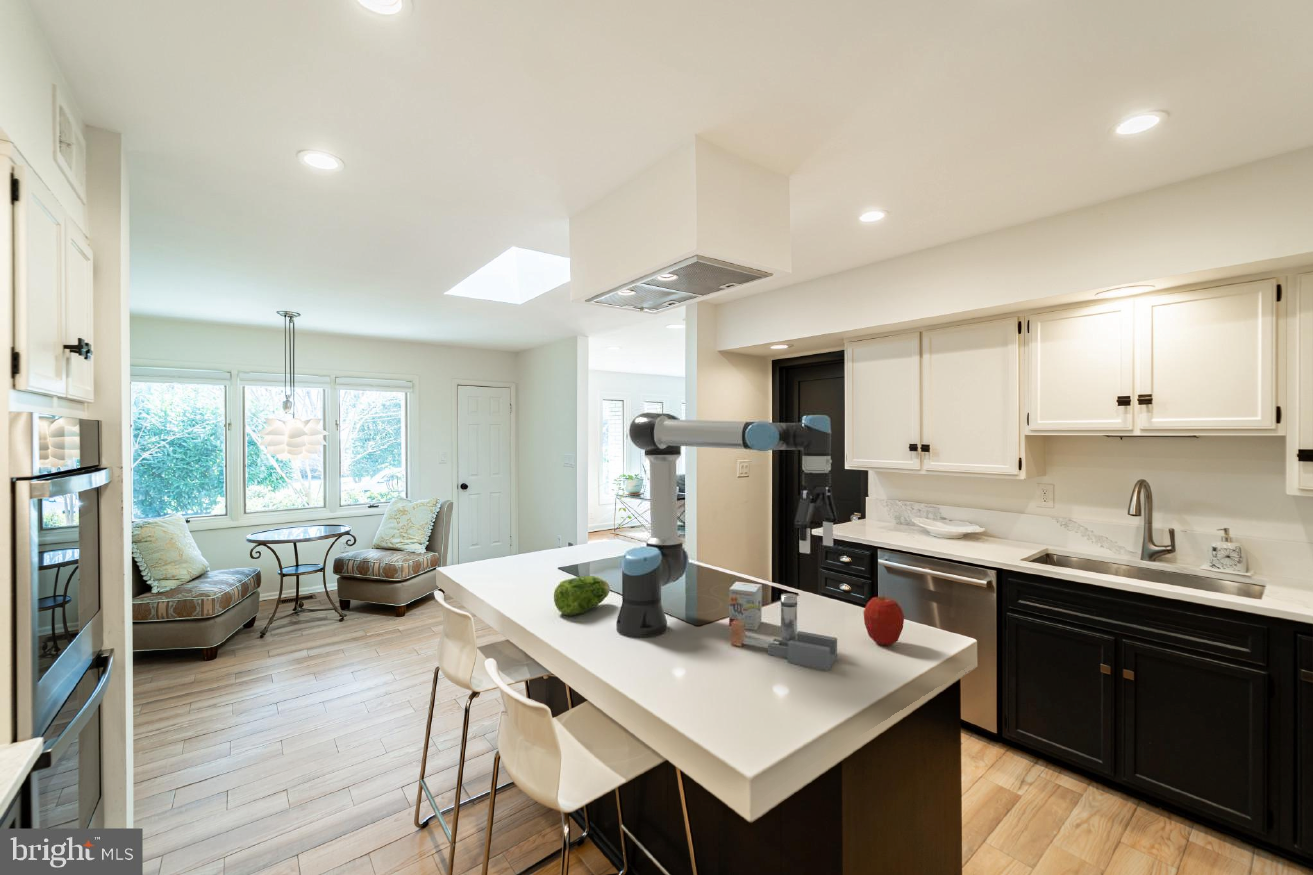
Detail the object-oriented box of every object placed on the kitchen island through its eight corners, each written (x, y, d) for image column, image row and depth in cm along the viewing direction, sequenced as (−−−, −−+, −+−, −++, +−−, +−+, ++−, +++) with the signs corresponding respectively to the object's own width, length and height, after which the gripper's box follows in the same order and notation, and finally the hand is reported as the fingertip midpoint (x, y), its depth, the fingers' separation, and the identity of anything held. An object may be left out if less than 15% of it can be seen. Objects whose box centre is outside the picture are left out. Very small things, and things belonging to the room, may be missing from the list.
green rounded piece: (618, 605, 188) (618, 572, 188) (573, 621, 172) (573, 585, 172) (594, 599, 195) (594, 567, 195) (549, 614, 179) (549, 579, 179)
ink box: (728, 626, 168) (728, 587, 168) (735, 618, 176) (735, 580, 176) (756, 630, 164) (756, 590, 164) (762, 621, 172) (762, 583, 172)
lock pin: (730, 644, 152) (730, 622, 152) (735, 641, 155) (735, 619, 155) (776, 653, 146) (776, 631, 146) (780, 650, 148) (780, 627, 148)
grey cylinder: (778, 643, 154) (778, 596, 154) (783, 638, 158) (783, 592, 158) (794, 646, 152) (794, 598, 152) (799, 641, 156) (799, 594, 156)
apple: (860, 646, 152) (860, 595, 152) (867, 634, 161) (867, 586, 161) (901, 653, 147) (901, 601, 147) (906, 641, 155) (906, 592, 155)
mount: (765, 657, 144) (765, 638, 144) (777, 645, 152) (777, 627, 152) (827, 670, 136) (827, 650, 136) (837, 657, 144) (837, 637, 144)
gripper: (807, 474, 140) (807, 558, 140) (849, 470, 159) (849, 544, 159) (781, 473, 146) (781, 553, 146) (824, 469, 164) (824, 540, 164)
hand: (816, 549), depth 152 cm, fingers open, 13 cm apart
